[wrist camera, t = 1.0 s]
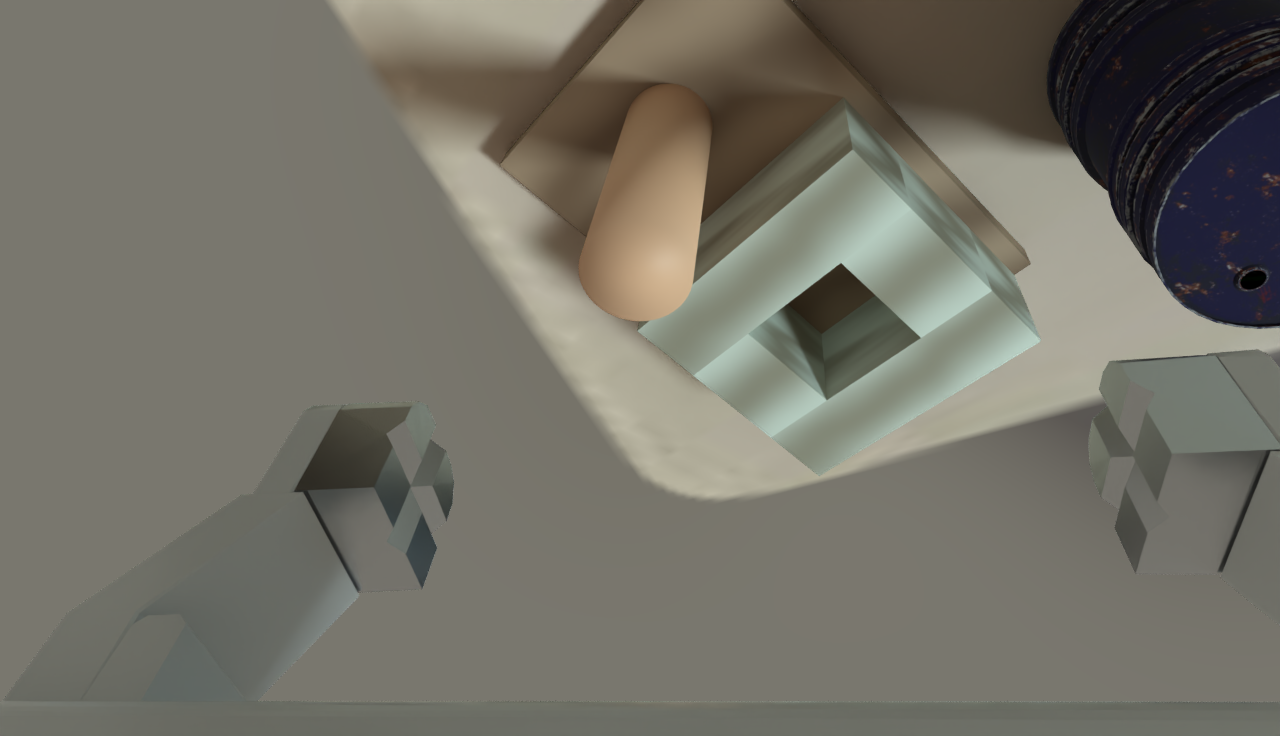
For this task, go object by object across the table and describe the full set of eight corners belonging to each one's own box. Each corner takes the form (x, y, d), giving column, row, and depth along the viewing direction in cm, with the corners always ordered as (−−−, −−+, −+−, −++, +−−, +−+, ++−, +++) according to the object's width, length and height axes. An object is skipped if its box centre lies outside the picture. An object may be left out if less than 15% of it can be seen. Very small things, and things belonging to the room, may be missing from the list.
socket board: (1024, 249, 47) (1060, 329, 41) (801, 400, 56) (805, 484, 50) (712, -83, 39) (702, -42, 33) (506, 153, 47) (469, 219, 42)
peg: (720, 93, 42) (703, 235, 31) (703, 174, 45) (681, 330, 34) (632, 75, 42) (585, 211, 31) (620, 157, 45) (572, 309, 34)
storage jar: (1124, -86, 37) (1286, 20, 25) (1331, -17, 38) (1581, 117, 26) (1004, 126, 43) (1090, 289, 32) (1184, 182, 44) (1333, 361, 32)
